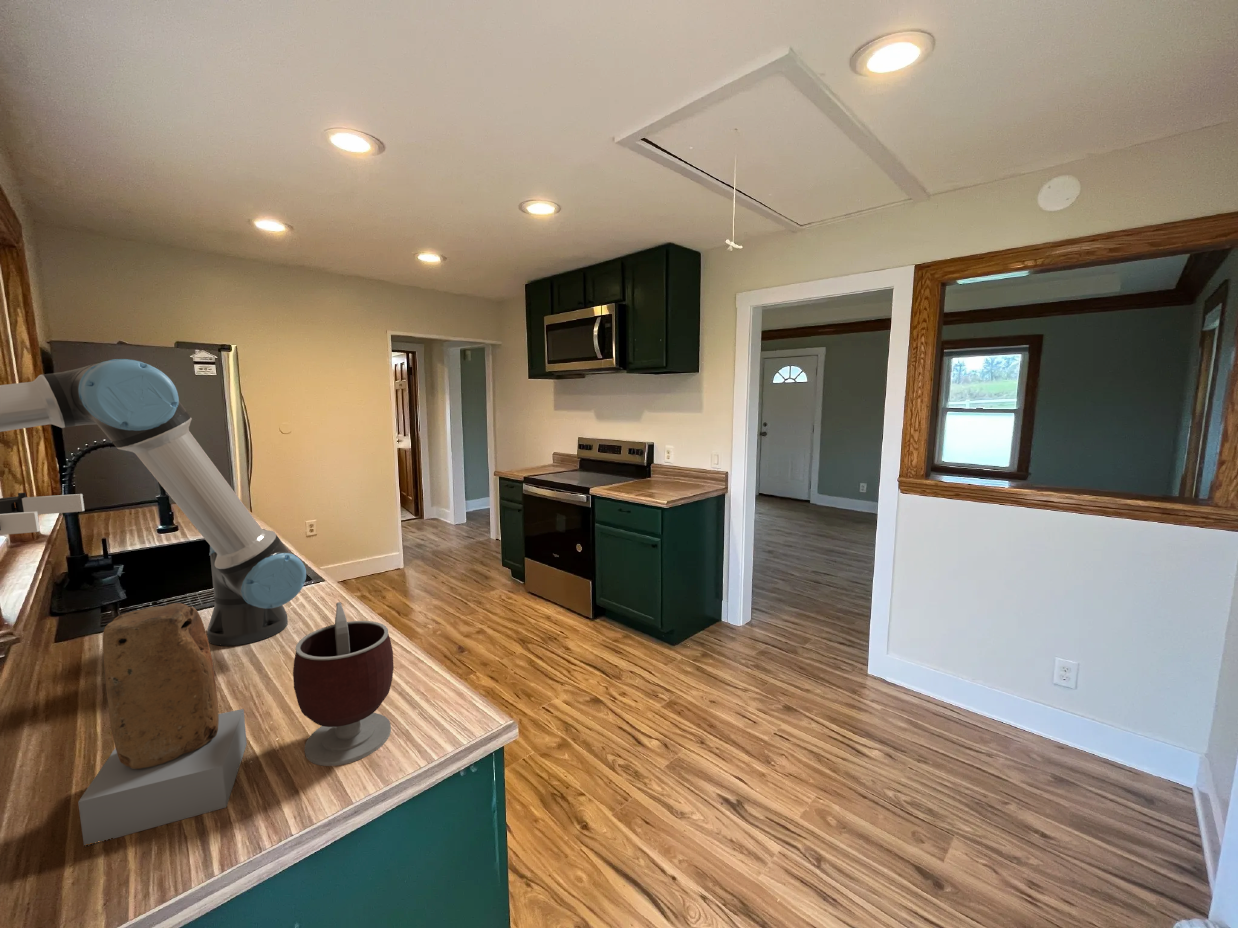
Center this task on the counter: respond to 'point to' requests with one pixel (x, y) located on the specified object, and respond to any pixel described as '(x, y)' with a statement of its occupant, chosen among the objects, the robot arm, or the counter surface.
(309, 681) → the mate gourd
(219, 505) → the robot arm
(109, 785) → the grey base block
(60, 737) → the counter surface
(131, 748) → the block
